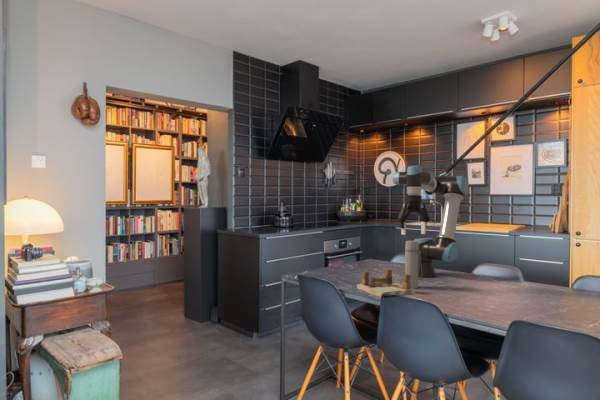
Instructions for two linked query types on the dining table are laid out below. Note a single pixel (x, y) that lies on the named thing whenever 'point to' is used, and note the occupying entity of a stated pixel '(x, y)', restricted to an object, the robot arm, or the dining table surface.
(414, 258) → the water bottle
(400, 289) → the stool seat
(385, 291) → the socket pad
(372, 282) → the keeper leg
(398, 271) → the dining table surface
